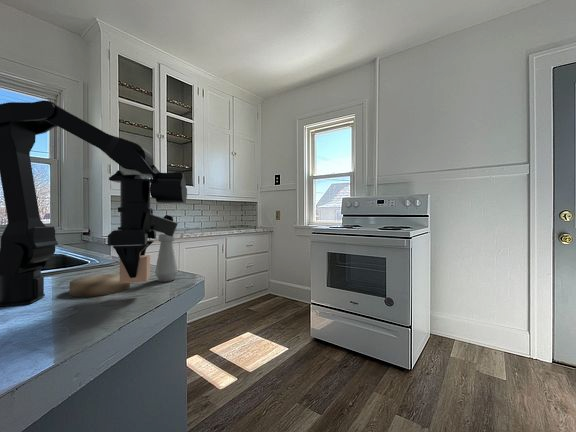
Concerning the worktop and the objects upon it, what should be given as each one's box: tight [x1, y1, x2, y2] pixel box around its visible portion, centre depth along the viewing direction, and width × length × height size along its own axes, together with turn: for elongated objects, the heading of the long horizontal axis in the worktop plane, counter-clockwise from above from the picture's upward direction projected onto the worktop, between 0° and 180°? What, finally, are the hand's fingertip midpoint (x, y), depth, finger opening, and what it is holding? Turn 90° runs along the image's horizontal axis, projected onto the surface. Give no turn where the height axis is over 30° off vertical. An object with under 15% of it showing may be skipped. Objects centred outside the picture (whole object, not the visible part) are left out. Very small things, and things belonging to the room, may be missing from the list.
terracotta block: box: [119, 254, 151, 284], centre depth 61 cm, size 5×5×5 cm
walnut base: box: [69, 273, 131, 298], centre depth 67 cm, size 12×12×2 cm
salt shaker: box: [154, 232, 179, 282], centre depth 78 cm, size 6×6×13 cm
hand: (135, 275), depth 61 cm, fingers closed on terracotta block, 5 cm apart
